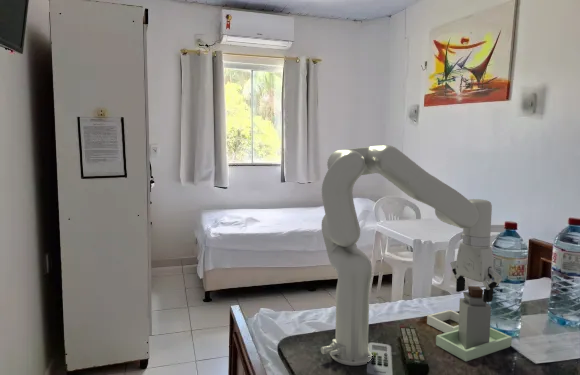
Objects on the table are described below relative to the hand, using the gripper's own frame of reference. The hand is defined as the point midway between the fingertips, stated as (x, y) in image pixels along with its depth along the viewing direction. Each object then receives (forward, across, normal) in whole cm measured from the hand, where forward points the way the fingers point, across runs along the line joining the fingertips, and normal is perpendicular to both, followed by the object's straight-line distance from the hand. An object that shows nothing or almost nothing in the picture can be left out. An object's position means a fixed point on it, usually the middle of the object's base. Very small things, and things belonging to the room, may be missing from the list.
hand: (473, 296), depth 124 cm
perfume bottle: (+16, 0, +1) cm, 16 cm away
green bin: (+16, 0, +1) cm, 16 cm away
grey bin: (+16, -12, +6) cm, 21 cm away
